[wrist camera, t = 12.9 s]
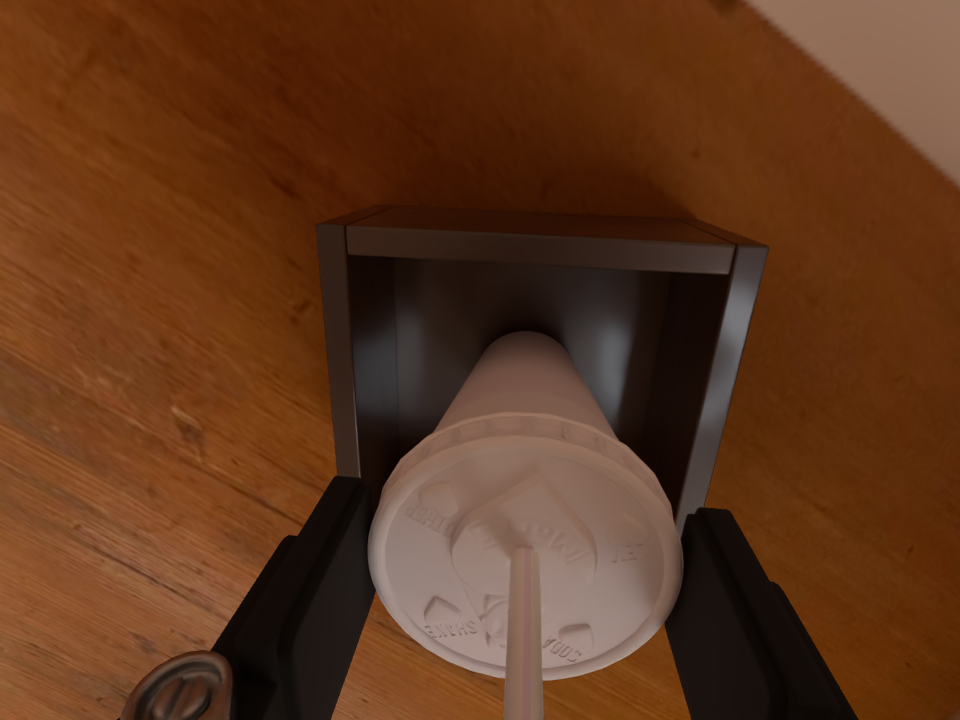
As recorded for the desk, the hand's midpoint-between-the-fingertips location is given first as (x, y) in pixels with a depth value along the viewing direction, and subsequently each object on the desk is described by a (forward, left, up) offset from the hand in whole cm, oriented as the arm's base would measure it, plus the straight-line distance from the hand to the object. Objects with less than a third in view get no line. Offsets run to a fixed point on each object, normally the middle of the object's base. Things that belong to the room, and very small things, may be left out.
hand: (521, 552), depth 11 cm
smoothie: (0, 0, -9) cm, 9 cm away
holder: (0, 0, -10) cm, 10 cm away
